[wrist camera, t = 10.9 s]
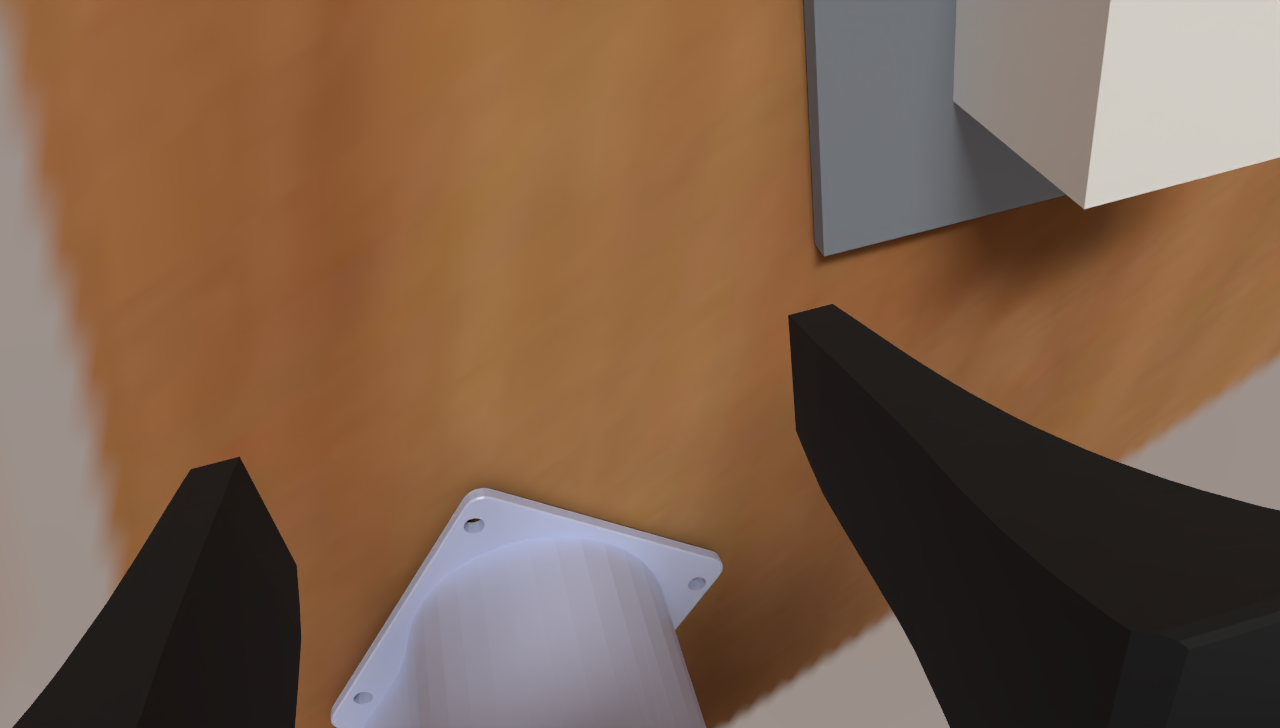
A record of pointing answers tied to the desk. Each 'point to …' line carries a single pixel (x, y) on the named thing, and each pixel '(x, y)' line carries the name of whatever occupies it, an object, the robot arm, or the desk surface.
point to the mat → (898, 127)
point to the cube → (1123, 88)
